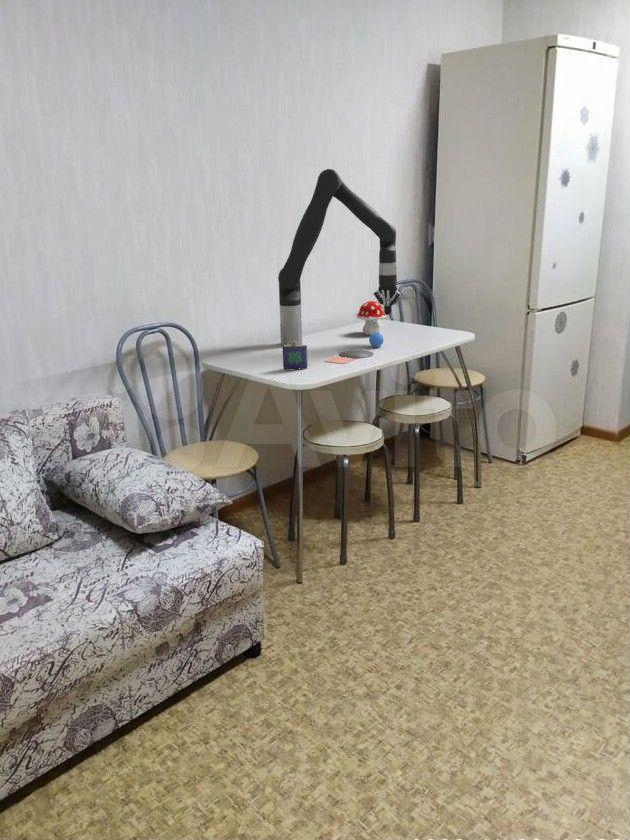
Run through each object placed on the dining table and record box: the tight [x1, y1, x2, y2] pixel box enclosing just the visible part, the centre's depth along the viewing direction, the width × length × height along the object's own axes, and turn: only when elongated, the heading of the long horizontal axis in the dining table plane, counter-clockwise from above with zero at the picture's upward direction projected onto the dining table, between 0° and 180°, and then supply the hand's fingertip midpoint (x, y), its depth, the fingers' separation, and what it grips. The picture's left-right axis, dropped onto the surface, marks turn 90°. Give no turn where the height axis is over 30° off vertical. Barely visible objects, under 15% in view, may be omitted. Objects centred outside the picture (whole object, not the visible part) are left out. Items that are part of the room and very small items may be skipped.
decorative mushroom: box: [355, 300, 388, 336], centre depth 324 cm, size 14×14×15 cm
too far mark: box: [324, 356, 356, 365], centre depth 278 cm, size 9×9×1 cm
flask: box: [282, 341, 309, 370], centre depth 266 cm, size 9×3×11 cm, turn 95°
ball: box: [368, 332, 385, 348], centre depth 299 cm, size 6×6×6 cm
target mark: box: [338, 349, 374, 359], centre depth 288 cm, size 14×14×1 cm
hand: (387, 314), depth 304 cm, fingers closed
